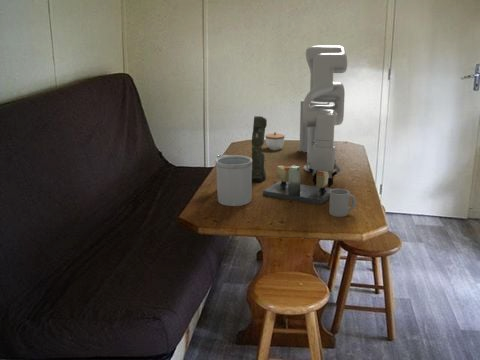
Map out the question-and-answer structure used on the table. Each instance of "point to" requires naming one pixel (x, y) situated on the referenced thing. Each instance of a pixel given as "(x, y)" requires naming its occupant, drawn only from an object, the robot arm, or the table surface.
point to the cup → (340, 202)
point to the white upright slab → (304, 128)
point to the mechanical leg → (258, 149)
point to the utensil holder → (234, 180)
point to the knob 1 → (283, 173)
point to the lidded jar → (275, 141)
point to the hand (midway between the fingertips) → (322, 184)
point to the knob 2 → (322, 179)
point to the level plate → (304, 195)
